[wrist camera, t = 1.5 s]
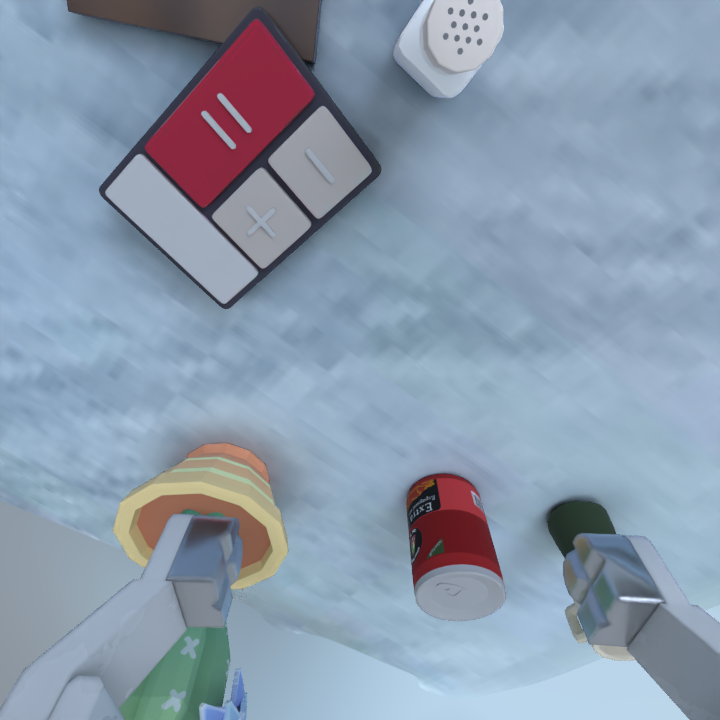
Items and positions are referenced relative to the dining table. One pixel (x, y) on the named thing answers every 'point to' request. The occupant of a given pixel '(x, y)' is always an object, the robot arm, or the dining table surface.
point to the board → (211, 18)
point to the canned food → (452, 550)
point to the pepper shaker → (449, 43)
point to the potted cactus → (259, 561)
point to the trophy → (564, 530)
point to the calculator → (241, 164)
